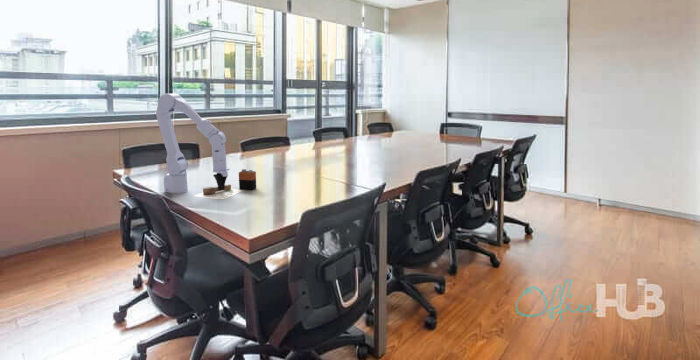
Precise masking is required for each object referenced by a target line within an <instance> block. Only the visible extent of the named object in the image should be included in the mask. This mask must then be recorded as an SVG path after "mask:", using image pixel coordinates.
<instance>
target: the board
mask: <svg viewBox="0 0 700 360" xmlns="http://www.w3.org/2000/svg"><path fill="white" fill-rule="evenodd" d="M244 191H245V190H240V189H236V188H235V189H234V188H231V189H229V190H224V191H218V192H215V194H213V195H204V194H203V192H200V193H197V194H195V195H194V197H196V198H206V199H215V200H225V199H227V198H230V197H232V196H234V195H236V194H239V193H241V192H244Z"/></svg>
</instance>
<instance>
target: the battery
mask: <svg viewBox="0 0 700 360" xmlns="http://www.w3.org/2000/svg"><path fill="white" fill-rule="evenodd" d="M238 185H239V189H238V190H244V191H254V190H256V189H257V172H256V171H255V170H253V169H249V170H247V169H244V168H243V169H241V171H239V172H238Z"/></svg>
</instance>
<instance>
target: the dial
mask: <svg viewBox="0 0 700 360" xmlns="http://www.w3.org/2000/svg"><path fill="white" fill-rule="evenodd" d="M229 189H232V185H231V184H225V188H224V190H229ZM224 190H219V188H218V186H206V187H203V188H202V193H203V194H204V195H213V194H215V192H218V191H224Z"/></svg>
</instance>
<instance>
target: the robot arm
mask: <svg viewBox="0 0 700 360" xmlns="http://www.w3.org/2000/svg"><path fill="white" fill-rule="evenodd" d="M156 101H157V106H156V113H155V116H156V120H157V123H158V127H159V130H160V134H161V136H162V140H163V144H164V147H165V150H166V158H165V161H166V171H167V173H166V174H165V175H164V177H163V186H164V192H165V193H171V194H184V193H188V191H189V189H188V187H189V186H188V175H187V174H188V173H187V169H188V168H189V162H188V161H187V159H186V158H185V155H184V154H183V153H182V151H181V150H180V146H179V143H178V139H177V136H176V132H175V130H174V129H175V127H174V125H173V122H172V119H171V116H172V115H173V113H174V111H180V112H182V113H183V114H185V115H186V116H187V117H188V118H189V119H190V120H192V122H194V123H195V125H196V129H197V130H198V131H199V132H200V133H201V134H203V136H204V137H205V138H206V139H208V143H209V144H210V146H211V155H212V158H211V159H212V173H215V174H213V177H214V179H215V181H216V182H215V183H216V184H217V187H218V188H219V190H224V188H225V185H226V181H227V178H228V176H229V174H228V173H229V171H230V168H228V167H227V154H226V153H227V152H226V141H227V136H226V135H225V133H224V131H220V129H219V128H217V127H216V126H215V125H213V124H212V121H211V120H209V119H206V118H203V117H201V116H200V115H199V114H198V112H197V111H195V109H194V108H193V107H192V106H191V105H190V104H189V103H188V101H186V99H185V98H183V97H182V95H180V94H179V93H176V92H174V93H163V94H161V96H160V97H158V99H157V100H156Z"/></svg>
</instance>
